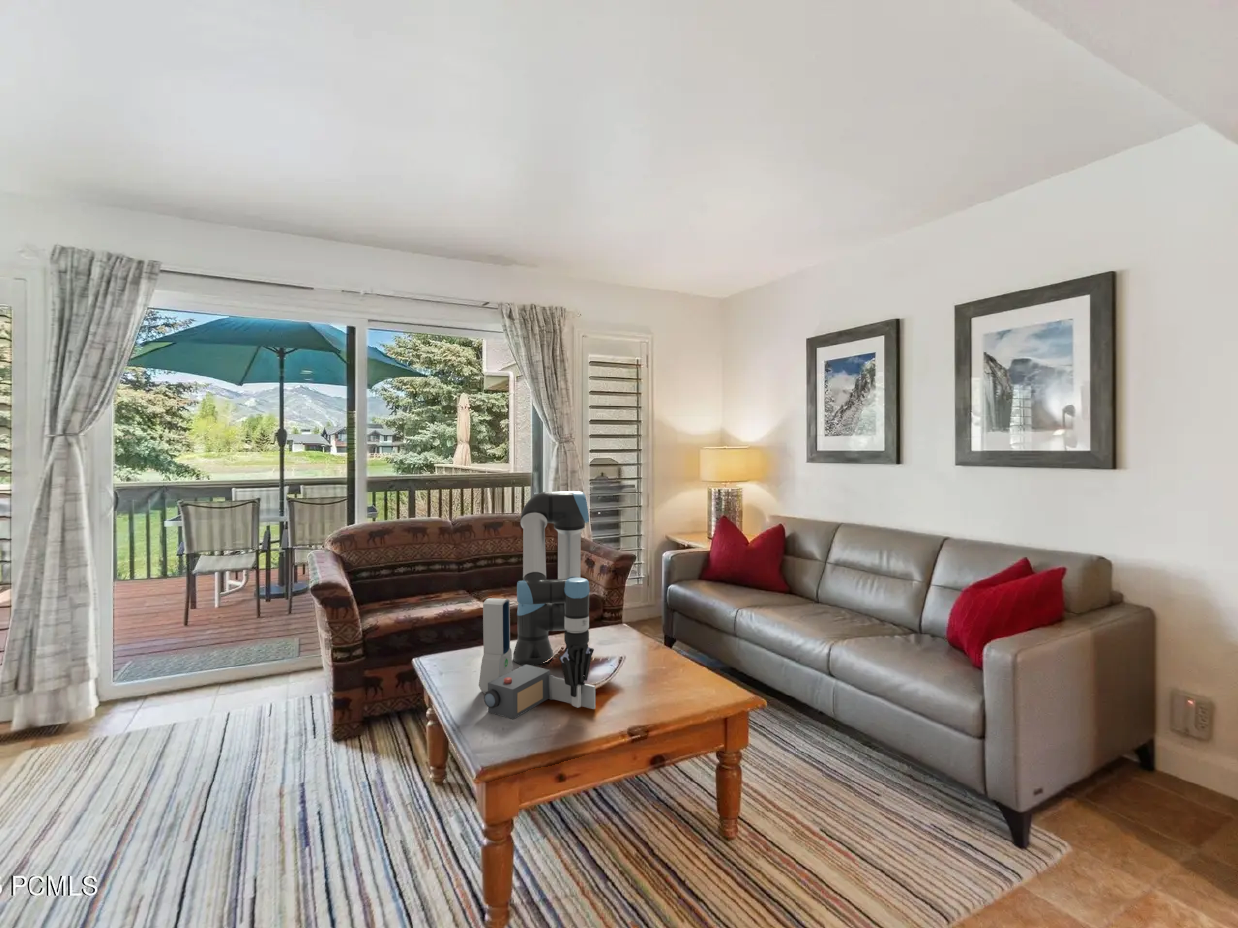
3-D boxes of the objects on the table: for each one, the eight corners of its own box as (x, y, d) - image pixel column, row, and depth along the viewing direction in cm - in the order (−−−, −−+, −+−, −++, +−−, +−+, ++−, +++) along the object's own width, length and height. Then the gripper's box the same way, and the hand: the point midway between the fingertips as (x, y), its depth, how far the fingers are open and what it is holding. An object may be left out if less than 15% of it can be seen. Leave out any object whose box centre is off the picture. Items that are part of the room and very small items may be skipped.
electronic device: (499, 696, 198) (498, 604, 197) (478, 694, 199) (476, 603, 198) (513, 681, 210) (512, 595, 209) (493, 679, 211) (492, 594, 210)
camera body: (526, 690, 202) (525, 661, 201) (550, 697, 196) (550, 667, 196) (483, 713, 185) (483, 681, 184) (509, 721, 180) (508, 688, 179)
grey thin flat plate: (548, 698, 195) (548, 676, 195) (551, 696, 197) (551, 674, 197) (593, 710, 187) (593, 686, 187) (596, 707, 188) (596, 684, 188)
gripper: (569, 636, 179) (569, 716, 180) (600, 627, 188) (599, 702, 189) (552, 631, 184) (552, 708, 185) (583, 622, 194) (582, 696, 194)
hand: (576, 705), depth 187 cm, fingers closed
